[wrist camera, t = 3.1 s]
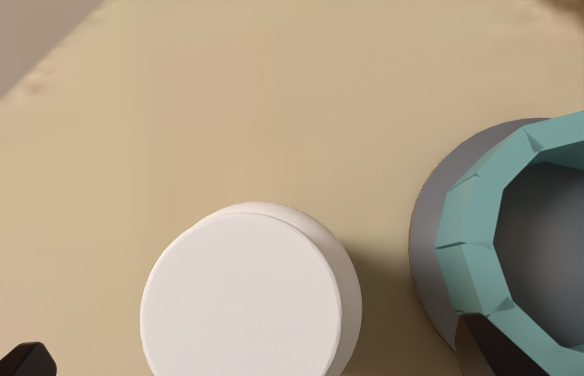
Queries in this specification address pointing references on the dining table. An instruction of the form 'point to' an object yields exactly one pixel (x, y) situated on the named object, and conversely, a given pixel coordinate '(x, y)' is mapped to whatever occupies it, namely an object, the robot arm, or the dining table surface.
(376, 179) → the dining table surface
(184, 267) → the supplement bottle
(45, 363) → the robot arm
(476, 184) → the teal round bowl
